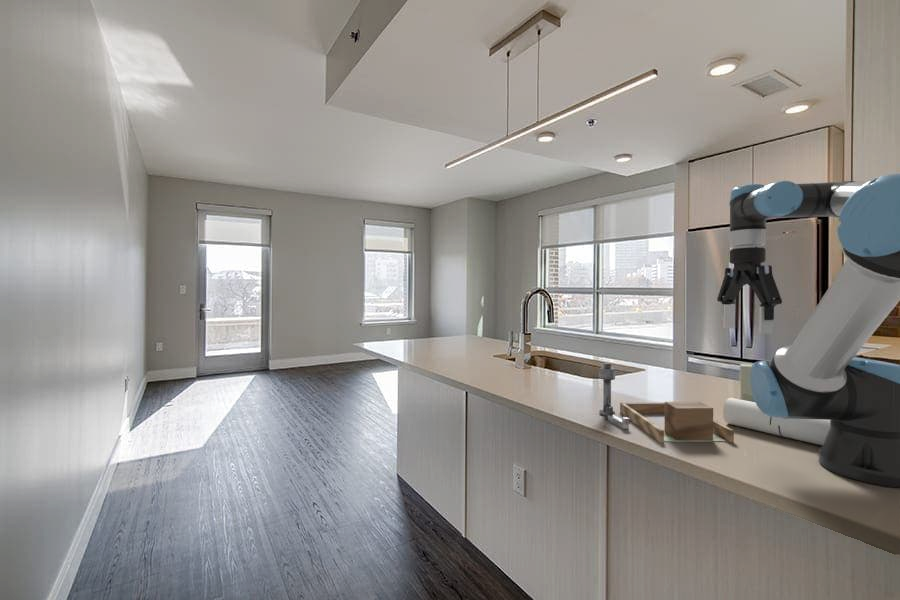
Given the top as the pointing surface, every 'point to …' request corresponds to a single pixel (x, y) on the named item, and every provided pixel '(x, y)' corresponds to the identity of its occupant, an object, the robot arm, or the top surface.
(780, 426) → the cylindrical container
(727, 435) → the bay
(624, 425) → the crank handle
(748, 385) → the box
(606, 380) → the post
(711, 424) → the block
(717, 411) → the top surface
